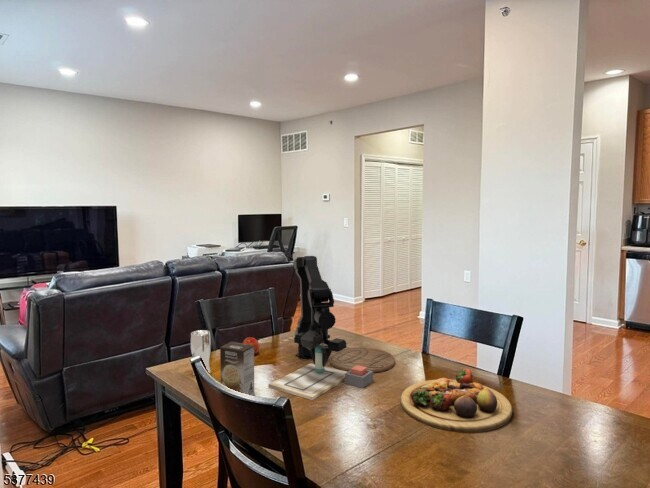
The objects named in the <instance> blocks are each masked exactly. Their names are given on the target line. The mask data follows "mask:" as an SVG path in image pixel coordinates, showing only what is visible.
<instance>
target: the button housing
mask: <svg viewBox="0 0 650 488" xmlns="http://www.w3.org/2000/svg"><path fill="white" fill-rule="evenodd" d="M373 382H374V374H373V371H370V370H367V373H366V374H365V375H363V376H359V375H355V374H351V370H350V371H348V372H346V373H345V380H344V384H346V385H348V386H352V387H356V388H357V387H358V388H360V389H364V388H366V387H367V386H369V385H370V384H372V383H373Z"/></svg>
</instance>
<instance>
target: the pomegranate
mask: <svg viewBox="0 0 650 488" xmlns="http://www.w3.org/2000/svg"><path fill="white" fill-rule="evenodd" d="M260 339H261V338H260V337H258V338H255V337H251V336H249V337H246V338H244V340H243V341H242V343H243V344H248V345H254V355H256V354H258V352H259V350H260V346H261V345H260V343H259V340H260Z"/></svg>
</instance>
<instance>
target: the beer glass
mask: <svg viewBox="0 0 650 488" xmlns="http://www.w3.org/2000/svg"><path fill="white" fill-rule="evenodd" d="M211 338H212V337H211V331H210V330H207V329H200V330H199V329H198V330H194V331H191V332H190V352H191V355H192V357H191V358H193V357H196V356H201V358H202V360H203V362H204V364H205V366H206V369H207V370H208V372H209V373H210V374H211V367H210V357H211V351H212V340H211ZM192 375H193V376H194V373H193V372H192Z"/></svg>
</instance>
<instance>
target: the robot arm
mask: <svg viewBox="0 0 650 488" xmlns="http://www.w3.org/2000/svg"><path fill="white" fill-rule="evenodd" d="M293 268H294V271H295V274H296V275H297V277H298V279H299V286H300V287H299V290H300V292H299V293H300V296H299V297H300V317H299V319H298V321H297V322H296V323H297V327H296V328H295V332H294V338H293V342H294V344H297V345H298V346H297V348H298V351H297V352H298V353H297V354H295V357H298V358H302V359H305V360H306V359H307V360H309V359H312V361H313V362H312V363H313V364H315V346H316V345H320V344H321V345H324V348H322V349H320V350H321V351H322V363H323V367H324V366H326V367H327V363H328V361H329V357H330V355H331V354H332V353H333V352H339V351H341V350H343V349H347V341H346V340H345V339H344V338H336V337H335V338H334V339H331V340H330V338H331V335H330V334H329V330H331V328H332V329H333V327H334V326H335V324H336V320H337V319H336V316H335V315H334V313H333V312H331V311H330V310H331V309H330V308H334V304H335V298H334V296H333V295H334V294H333V291H332V289H331V288H330V286H329V285H328V282H327V281H325V280H323V278H322V276H321V273H320V270H319V267H318V258H317V256H315V255H304V256H297V257H296V258H295V259H294V260H293Z"/></svg>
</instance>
